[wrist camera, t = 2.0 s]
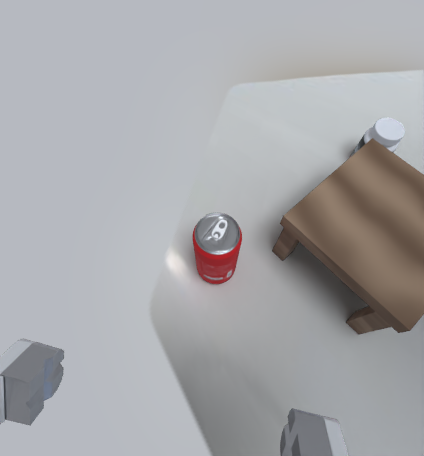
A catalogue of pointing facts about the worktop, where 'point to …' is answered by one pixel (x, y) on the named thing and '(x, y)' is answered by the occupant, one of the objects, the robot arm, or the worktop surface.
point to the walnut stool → (367, 235)
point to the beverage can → (216, 247)
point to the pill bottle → (383, 134)
